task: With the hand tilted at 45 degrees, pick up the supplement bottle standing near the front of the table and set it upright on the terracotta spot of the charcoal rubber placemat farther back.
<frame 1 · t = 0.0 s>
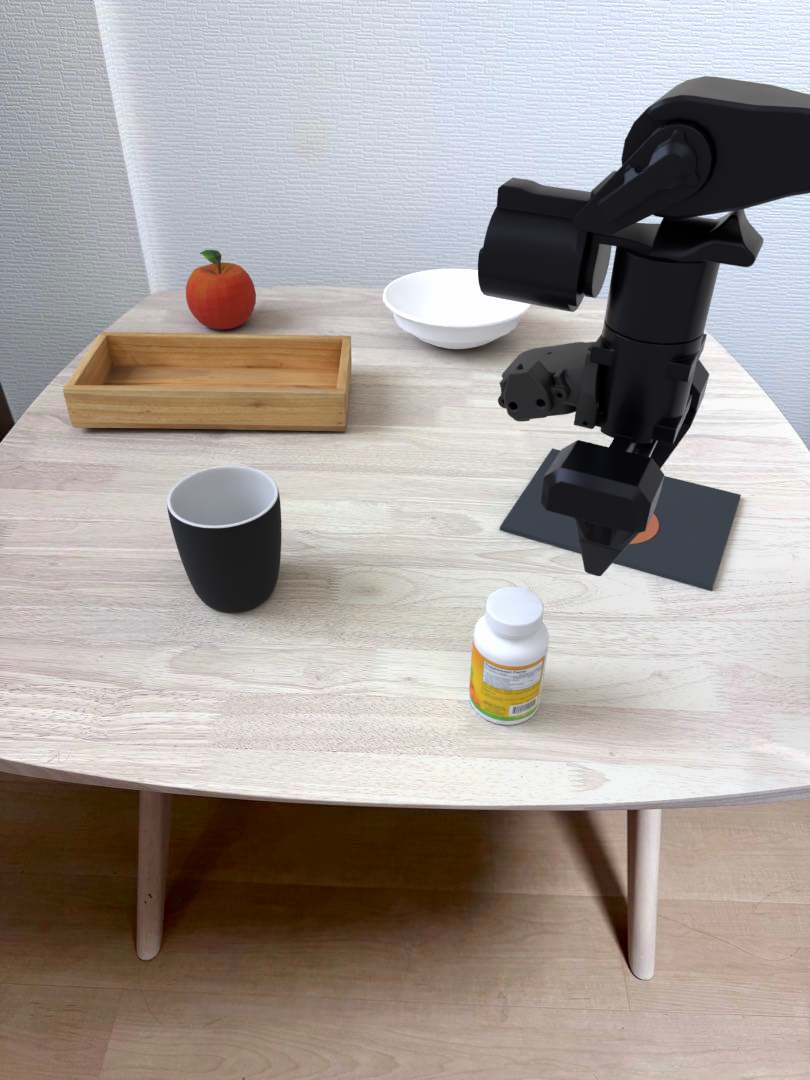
hand: (611, 535, 59), 13 cm above the table, tool pointing down, fingers open, 9 cm apart
placemat: (623, 514, 84), on the table
bowl: (455, 340, 116), on the table
mug: (227, 583, 75), on the table
supplement bottle: (503, 701, 65), on the table
tray: (221, 403, 102), on the table
fruit: (225, 325, 120), on the table
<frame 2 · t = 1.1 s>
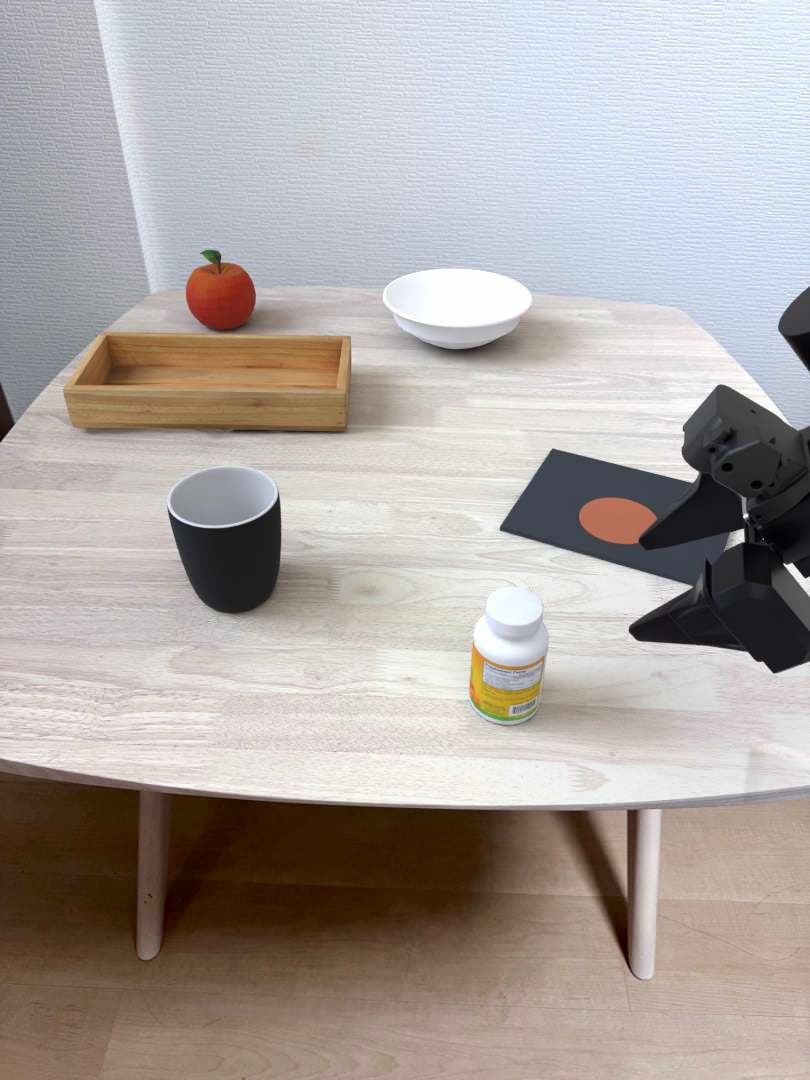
hand: (637, 586, 55), 13 cm above the table, tool tilted 45°, fingers open, 9 cm apart
nothing on the table moved.
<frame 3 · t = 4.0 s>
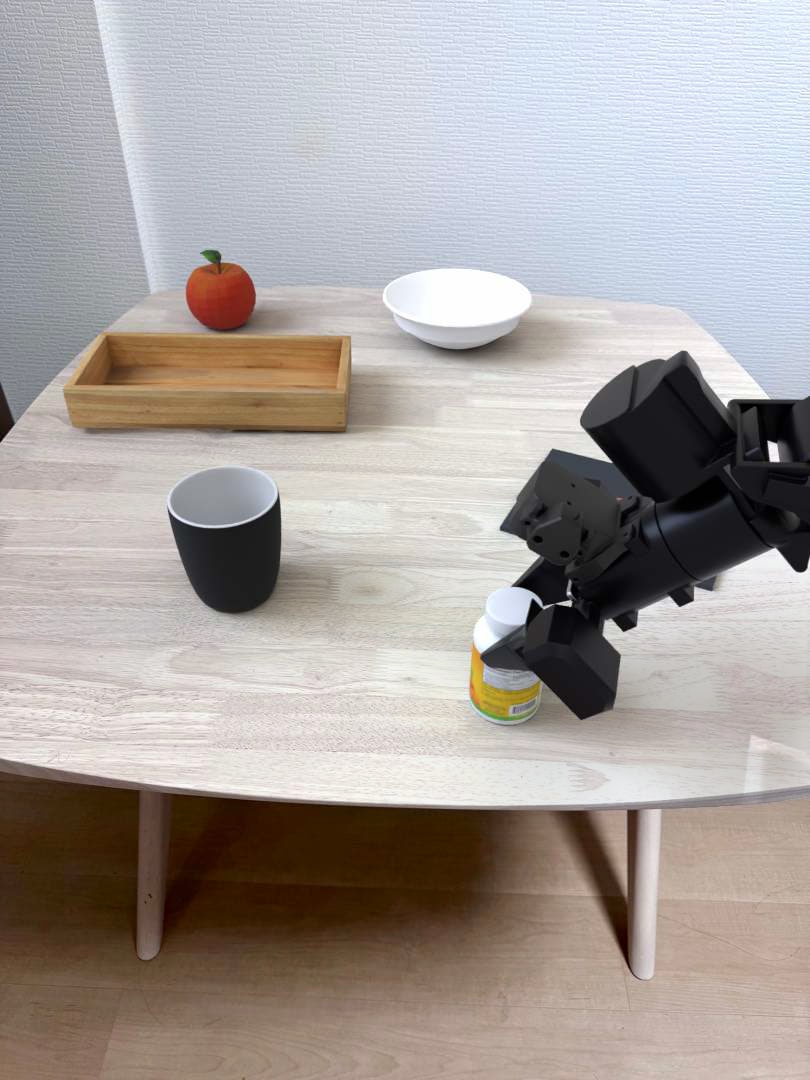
hand: (492, 633, 61), 7 cm above the table, tool tilted 45°, fingers closed on supplement bottle, 5 cm apart
supplement bottle: (503, 701, 65), on the table, touching gripper
everything else where it was.
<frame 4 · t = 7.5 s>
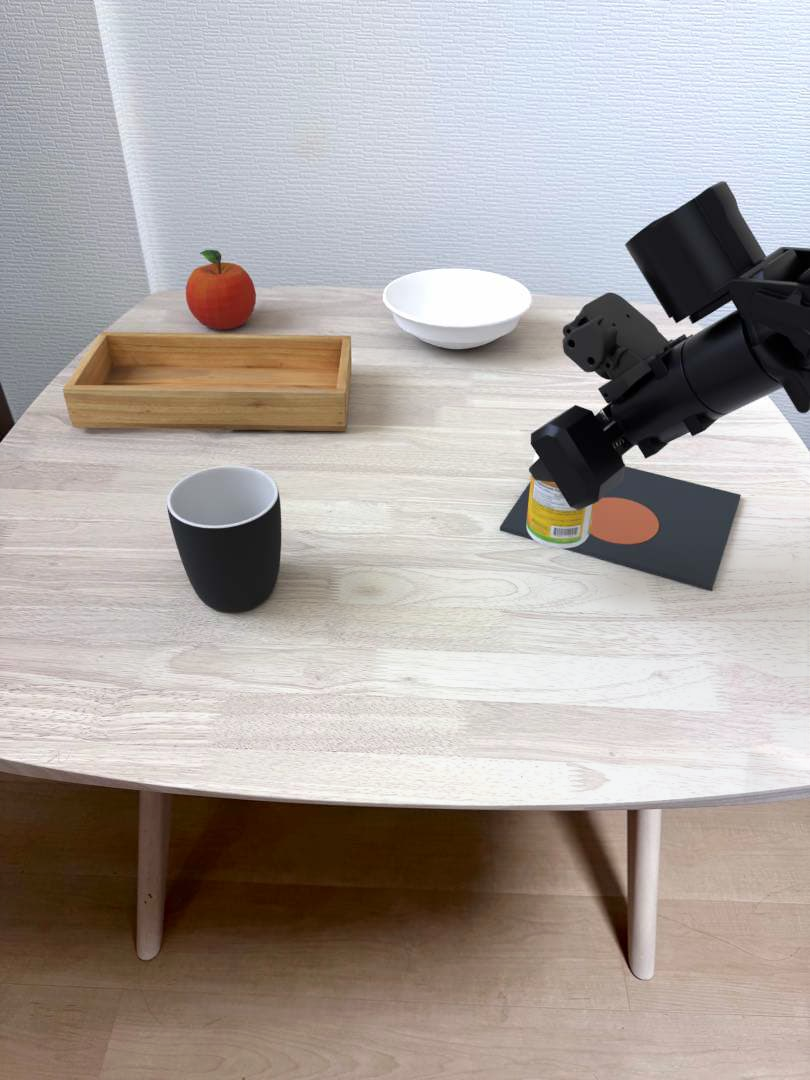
hand: (552, 459, 69), 12 cm above the table, tool tilted 45°, fingers closed on supplement bottle, 5 cm apart
supplement bottle: (557, 532, 72), point 6 cm above the table, touching gripper
everything else where it was.
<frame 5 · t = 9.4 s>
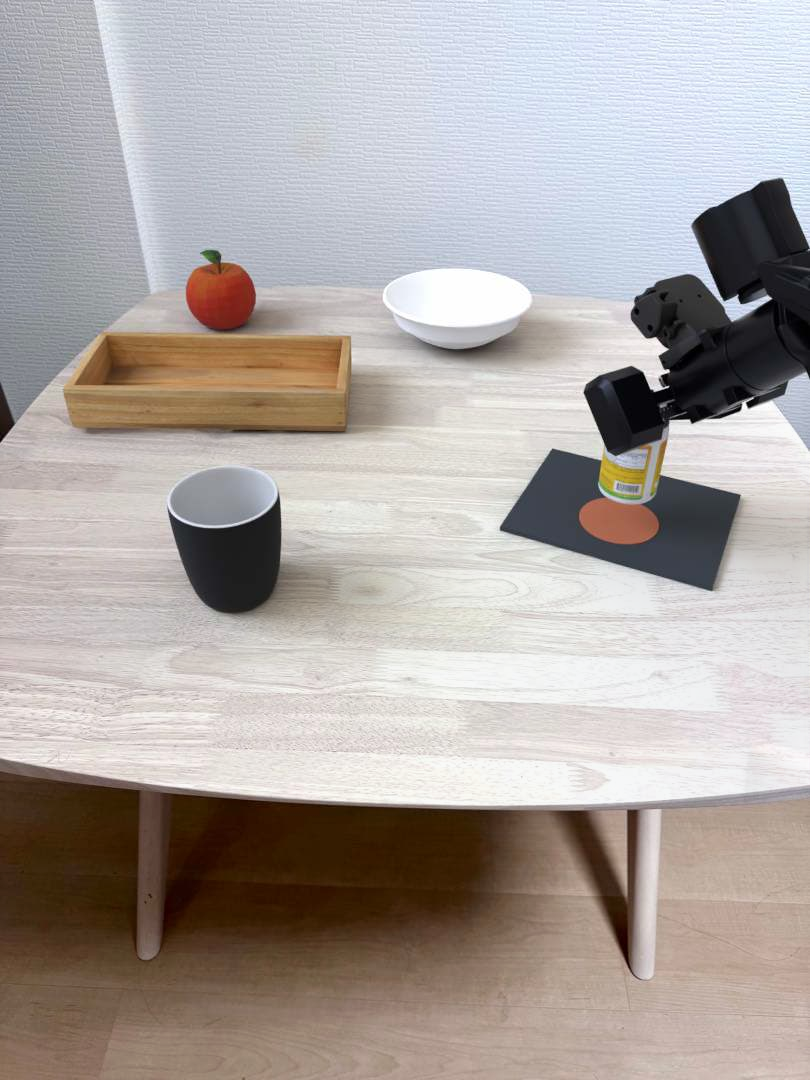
hand: (627, 422, 77), 11 cm above the table, tool tilted 45°, fingers closed on supplement bottle, 5 cm apart
supplement bottle: (626, 491, 80), point 4 cm above the table, touching gripper
everything else where it was.
when the fingers open (7 cm above the table, at t = 10.9 s): supplement bottle stays where it is, resting on placemat.
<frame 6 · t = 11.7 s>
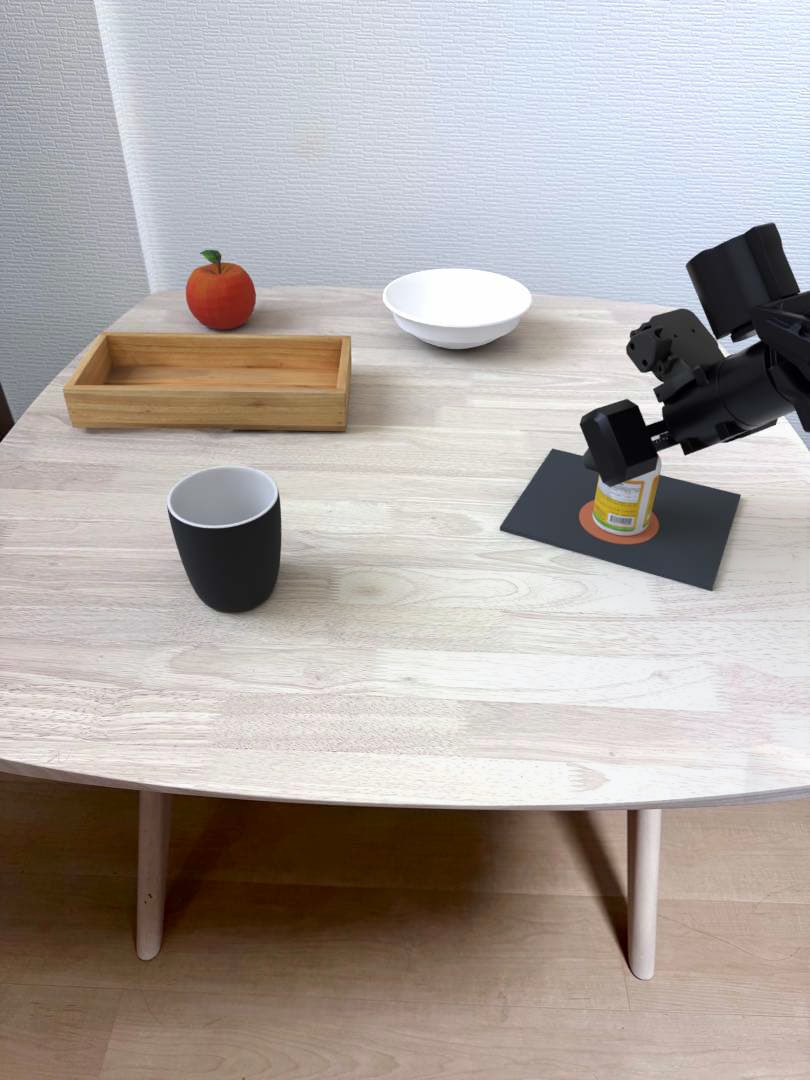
hand: (623, 449, 78), 8 cm above the table, tool tilted 45°, fingers open, 9 cm apart
supplement bottle: (619, 522, 82), resting on placemat
everything else where it was.
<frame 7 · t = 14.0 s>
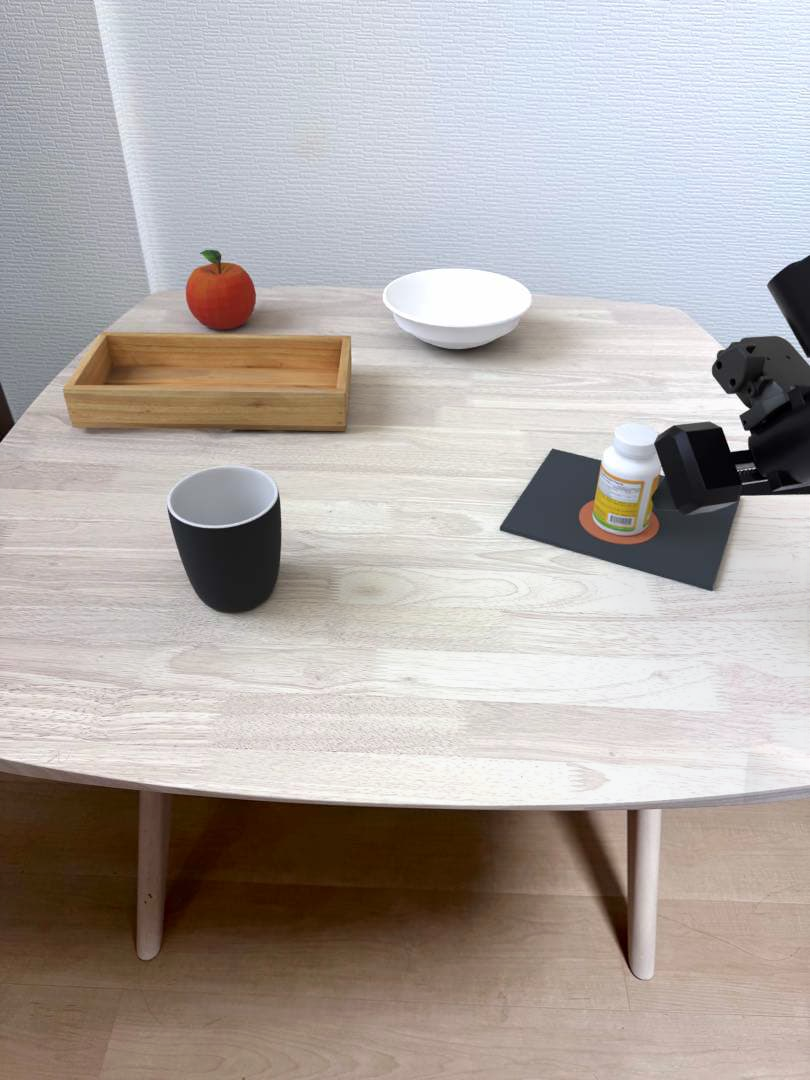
hand: (697, 496, 71), 9 cm above the table, tool tilted 40°, fingers open, 9 cm apart
nothing on the table moved.
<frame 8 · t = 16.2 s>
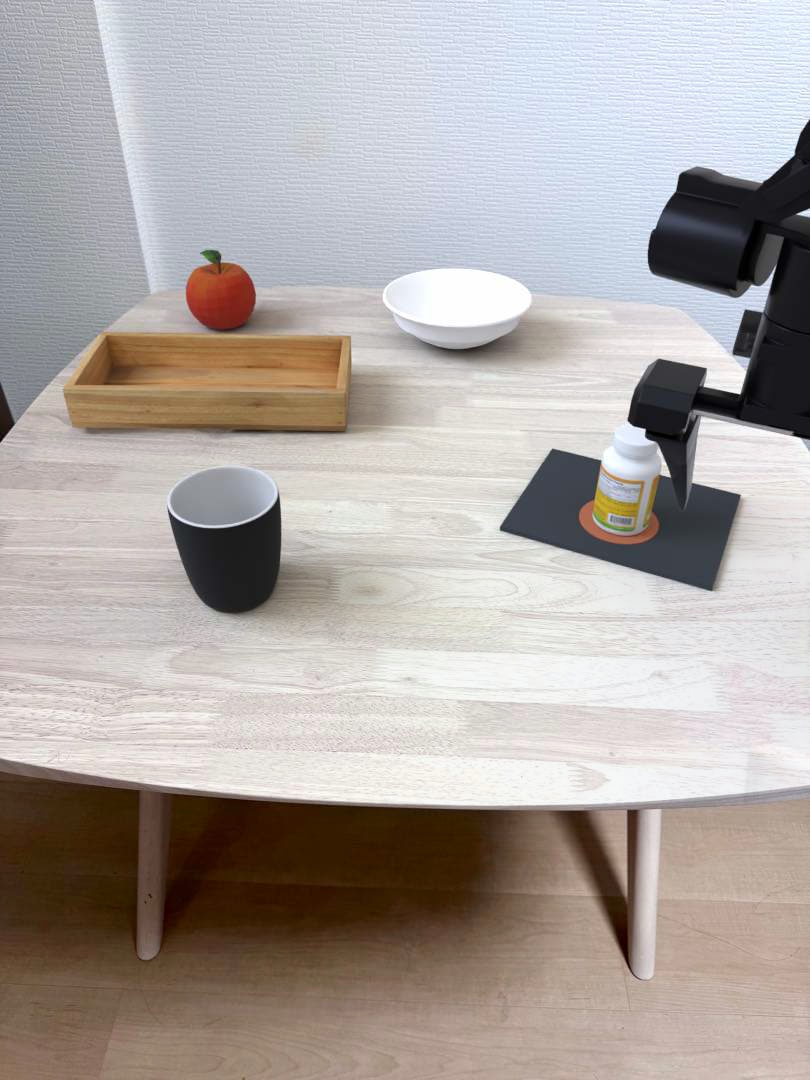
hand: (747, 524, 61), 13 cm above the table, tool pointing down, fingers open, 9 cm apart
nothing on the table moved.
at the end: supplement bottle inside the target area on the placemat (0.1 cm from its centre), point 0.4 cm above the placemat's base; supplement bottle tilted 0°; the gripper is holding nothing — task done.
